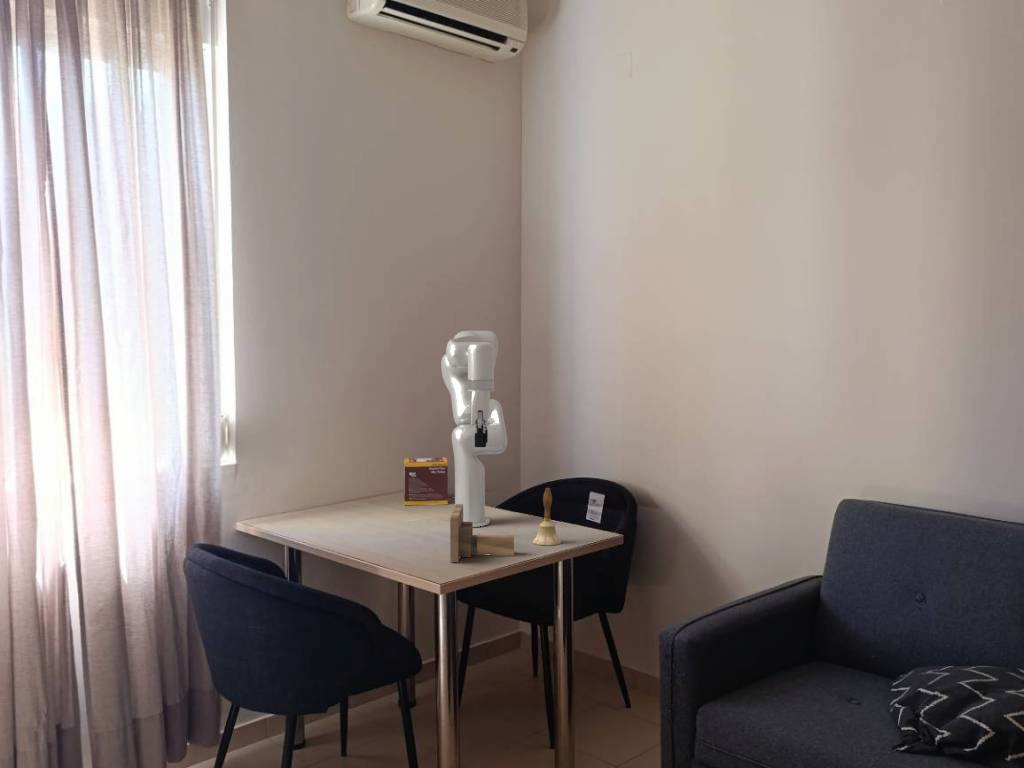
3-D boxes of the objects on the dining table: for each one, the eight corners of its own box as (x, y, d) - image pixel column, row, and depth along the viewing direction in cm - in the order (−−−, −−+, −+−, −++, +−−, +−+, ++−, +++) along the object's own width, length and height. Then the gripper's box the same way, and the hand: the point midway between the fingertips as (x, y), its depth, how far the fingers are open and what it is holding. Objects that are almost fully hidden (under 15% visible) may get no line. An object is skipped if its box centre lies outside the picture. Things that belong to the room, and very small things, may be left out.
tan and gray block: (463, 552, 261) (463, 534, 261) (513, 552, 260) (513, 534, 260) (462, 555, 257) (462, 537, 257) (513, 555, 257) (513, 537, 257)
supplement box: (448, 504, 332) (448, 460, 331) (404, 506, 330) (404, 461, 329) (446, 499, 342) (446, 457, 341) (403, 500, 340) (403, 457, 339)
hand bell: (541, 538, 278) (541, 484, 277) (566, 541, 274) (566, 487, 273) (527, 543, 271) (527, 488, 270) (552, 547, 267) (552, 491, 266)
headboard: (456, 545, 269) (456, 503, 268) (473, 545, 269) (473, 503, 268) (450, 562, 249) (450, 517, 248) (469, 562, 249) (469, 518, 248)
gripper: (469, 384, 280) (470, 441, 281) (466, 387, 263) (466, 448, 264) (495, 384, 280) (495, 441, 281) (492, 387, 262) (493, 448, 263)
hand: (481, 445), depth 272 cm, fingers open, 9 cm apart
